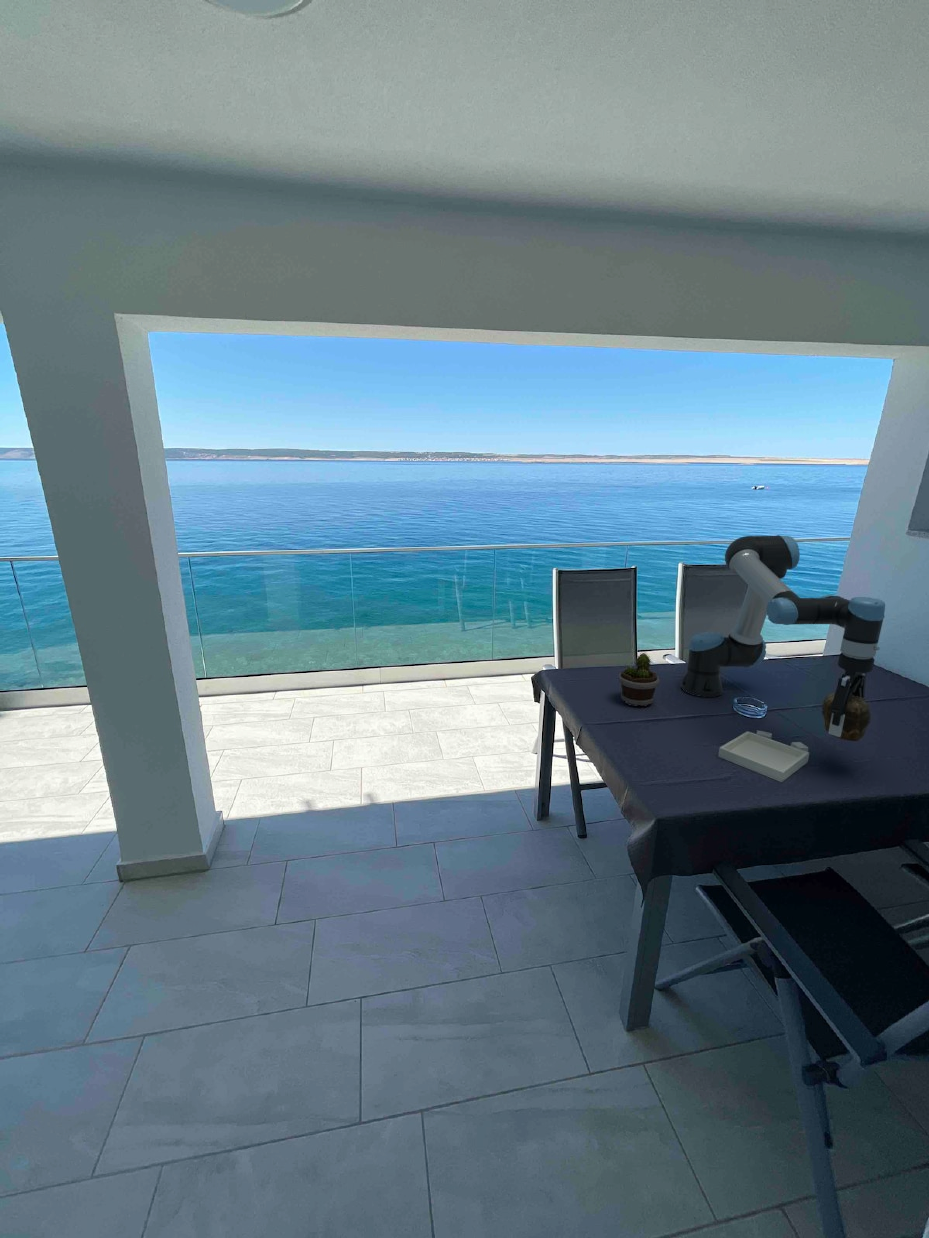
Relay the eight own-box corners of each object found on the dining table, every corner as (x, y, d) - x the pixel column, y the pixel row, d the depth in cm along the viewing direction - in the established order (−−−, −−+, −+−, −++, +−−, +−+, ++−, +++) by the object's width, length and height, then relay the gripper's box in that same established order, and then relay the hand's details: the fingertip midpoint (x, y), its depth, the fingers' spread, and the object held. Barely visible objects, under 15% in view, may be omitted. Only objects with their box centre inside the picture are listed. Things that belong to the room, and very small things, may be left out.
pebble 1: (755, 740, 162) (756, 733, 161) (756, 736, 164) (757, 730, 164) (769, 743, 160) (770, 737, 159) (770, 740, 162) (771, 733, 161)
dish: (718, 756, 152) (719, 747, 151) (746, 739, 162) (747, 731, 161) (781, 782, 138) (783, 772, 137) (807, 761, 148) (809, 752, 148)
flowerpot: (645, 714, 182) (649, 661, 177) (608, 701, 193) (611, 652, 188) (665, 702, 191) (669, 652, 186) (629, 691, 202) (632, 644, 197)
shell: (808, 726, 146) (815, 687, 143) (843, 724, 147) (851, 686, 144) (838, 744, 136) (846, 704, 133) (876, 742, 137) (885, 702, 133)
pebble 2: (790, 748, 156) (791, 742, 156) (799, 748, 156) (800, 742, 156) (798, 754, 153) (799, 748, 152) (807, 754, 153) (808, 747, 152)
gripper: (858, 668, 126) (842, 747, 131) (888, 649, 139) (872, 721, 145) (824, 660, 132) (810, 736, 137) (856, 643, 145) (842, 712, 151)
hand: (842, 728), depth 141 cm, fingers closed on shell, 11 cm apart
